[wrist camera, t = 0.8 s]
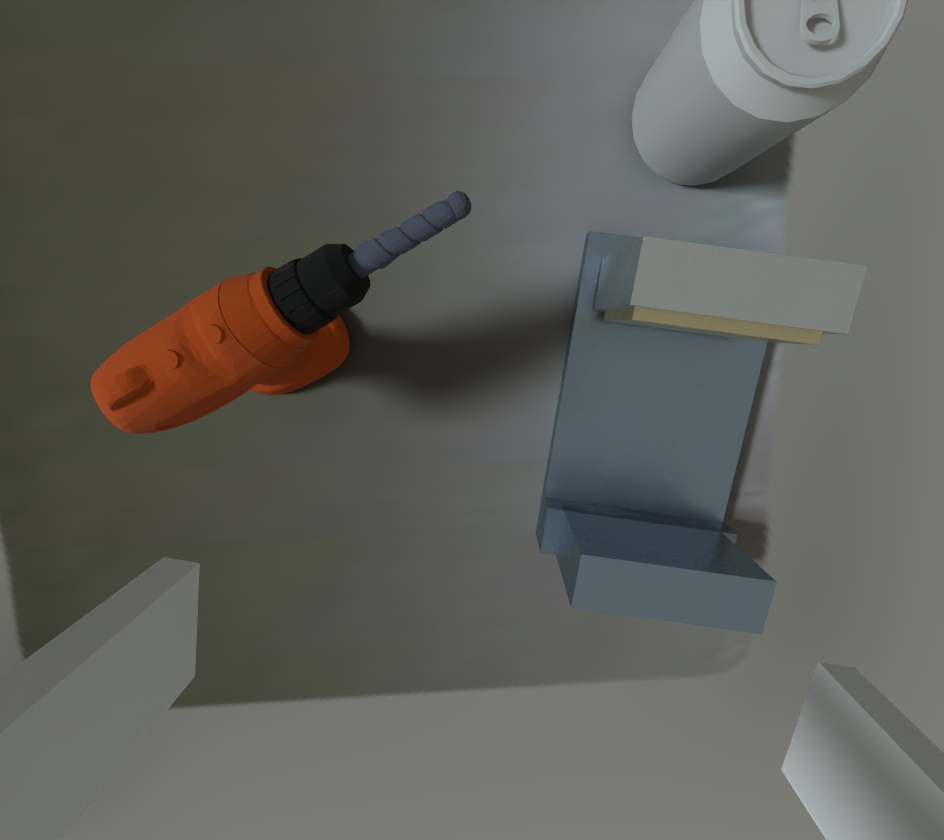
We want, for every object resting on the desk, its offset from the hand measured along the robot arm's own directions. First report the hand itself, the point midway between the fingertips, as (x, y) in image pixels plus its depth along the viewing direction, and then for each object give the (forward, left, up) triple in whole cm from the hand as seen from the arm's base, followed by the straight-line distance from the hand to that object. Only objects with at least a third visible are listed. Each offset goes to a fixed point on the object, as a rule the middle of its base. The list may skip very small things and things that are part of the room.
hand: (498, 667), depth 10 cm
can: (-20, +9, -24) cm, 32 cm away
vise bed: (-3, +10, -23) cm, 26 cm away
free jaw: (-10, +10, -22) cm, 26 cm away
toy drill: (-6, -10, -24) cm, 26 cm away
